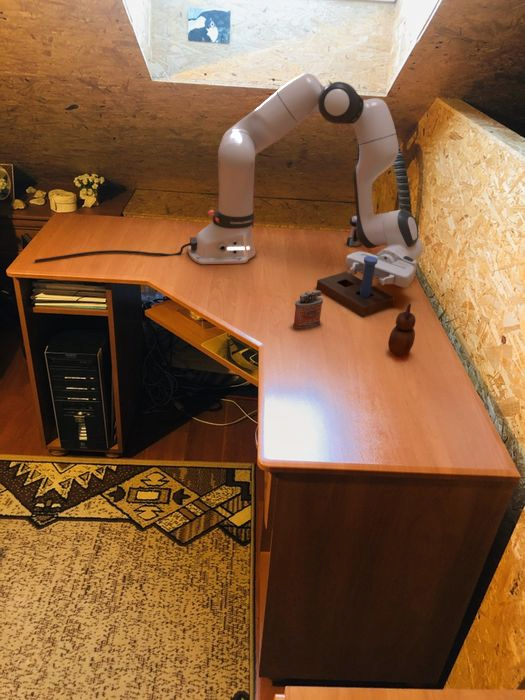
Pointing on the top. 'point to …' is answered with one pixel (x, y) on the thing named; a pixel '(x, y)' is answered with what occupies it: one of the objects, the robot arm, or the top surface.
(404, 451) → the top surface
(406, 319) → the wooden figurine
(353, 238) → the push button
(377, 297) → the rack
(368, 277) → the peg
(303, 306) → the lighter
